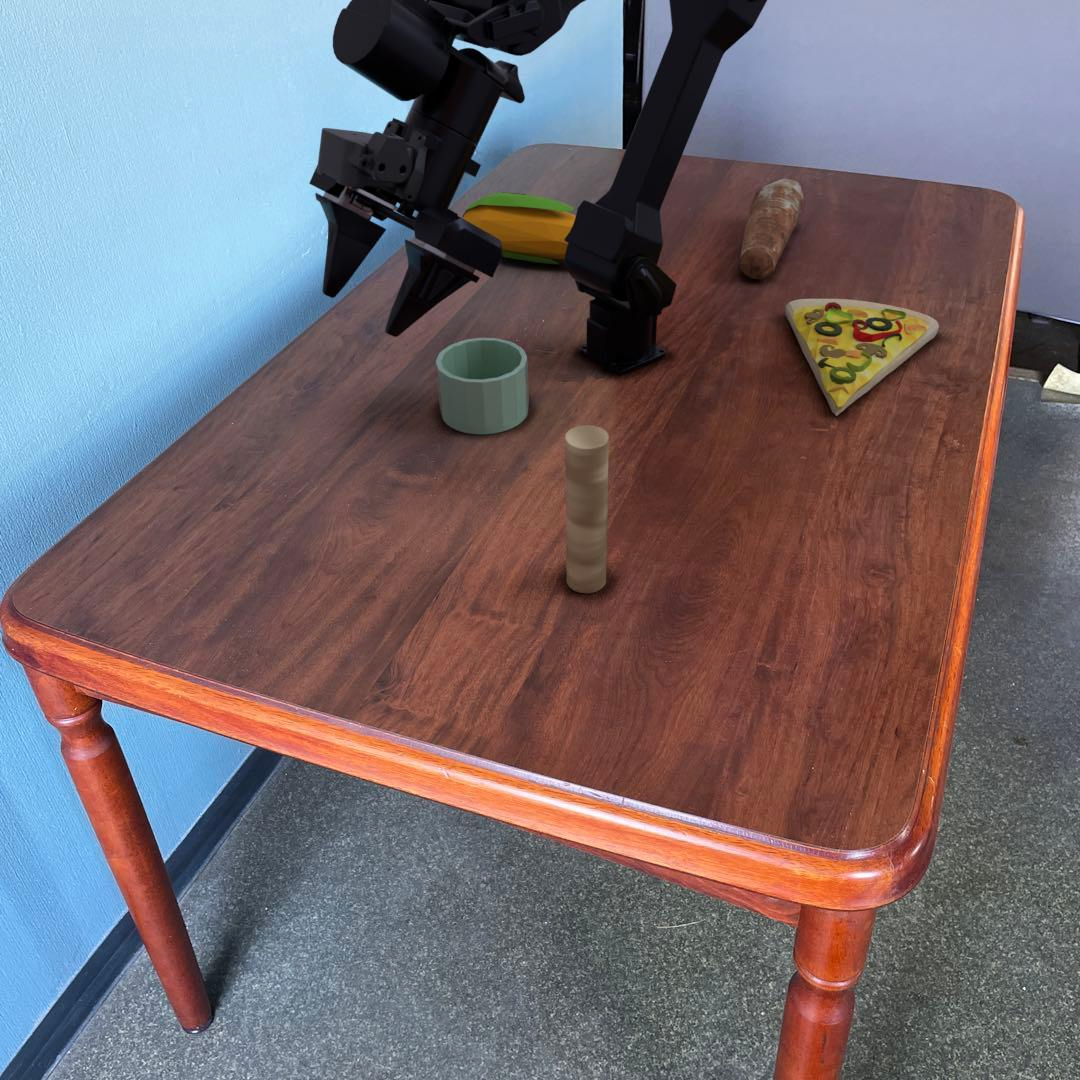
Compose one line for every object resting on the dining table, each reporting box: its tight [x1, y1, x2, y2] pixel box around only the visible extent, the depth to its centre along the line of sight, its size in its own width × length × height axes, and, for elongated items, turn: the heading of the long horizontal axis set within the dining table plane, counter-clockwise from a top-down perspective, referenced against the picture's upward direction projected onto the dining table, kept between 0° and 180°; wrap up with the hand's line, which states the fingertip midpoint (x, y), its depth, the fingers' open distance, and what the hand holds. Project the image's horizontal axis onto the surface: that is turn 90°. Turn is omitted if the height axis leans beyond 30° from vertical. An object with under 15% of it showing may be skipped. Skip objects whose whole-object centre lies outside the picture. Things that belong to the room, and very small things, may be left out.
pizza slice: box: [785, 298, 940, 417], centre depth 105 cm, size 16×21×3 cm
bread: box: [738, 177, 806, 280], centre depth 126 cm, size 6×19×6 cm, turn 160°
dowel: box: [564, 424, 610, 594], centre depth 77 cm, size 3×3×13 cm
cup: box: [435, 337, 530, 435], centre depth 99 cm, size 8×8×6 cm
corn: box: [461, 191, 576, 266], centre depth 125 cm, size 7×8×20 cm
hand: (358, 314), depth 85 cm, fingers open, 9 cm apart
